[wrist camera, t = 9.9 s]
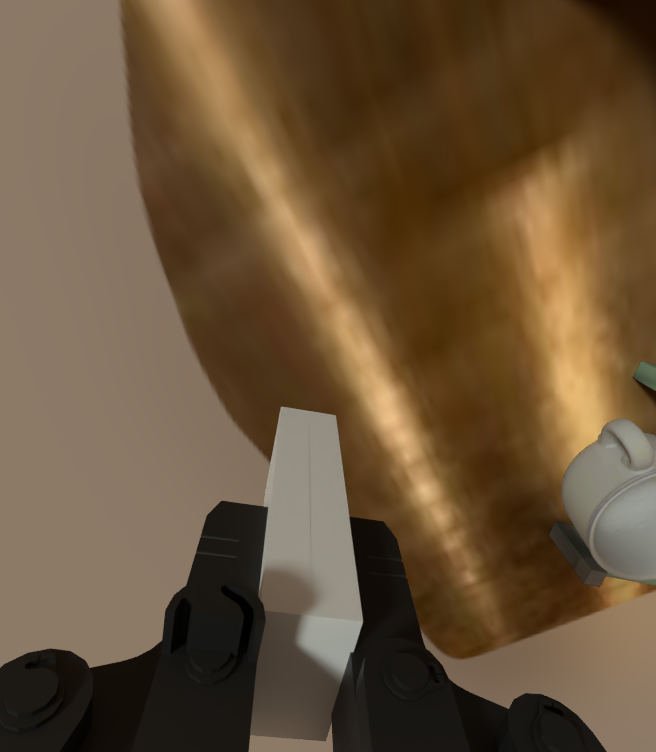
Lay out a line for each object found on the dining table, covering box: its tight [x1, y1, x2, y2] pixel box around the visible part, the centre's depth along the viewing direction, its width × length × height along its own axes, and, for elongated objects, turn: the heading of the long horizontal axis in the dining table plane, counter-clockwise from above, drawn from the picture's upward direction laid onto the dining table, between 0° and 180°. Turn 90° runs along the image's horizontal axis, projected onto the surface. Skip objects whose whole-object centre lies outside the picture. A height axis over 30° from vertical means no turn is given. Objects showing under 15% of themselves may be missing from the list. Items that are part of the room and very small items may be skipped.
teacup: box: [562, 418, 656, 580], centre depth 38 cm, size 14×11×8 cm
